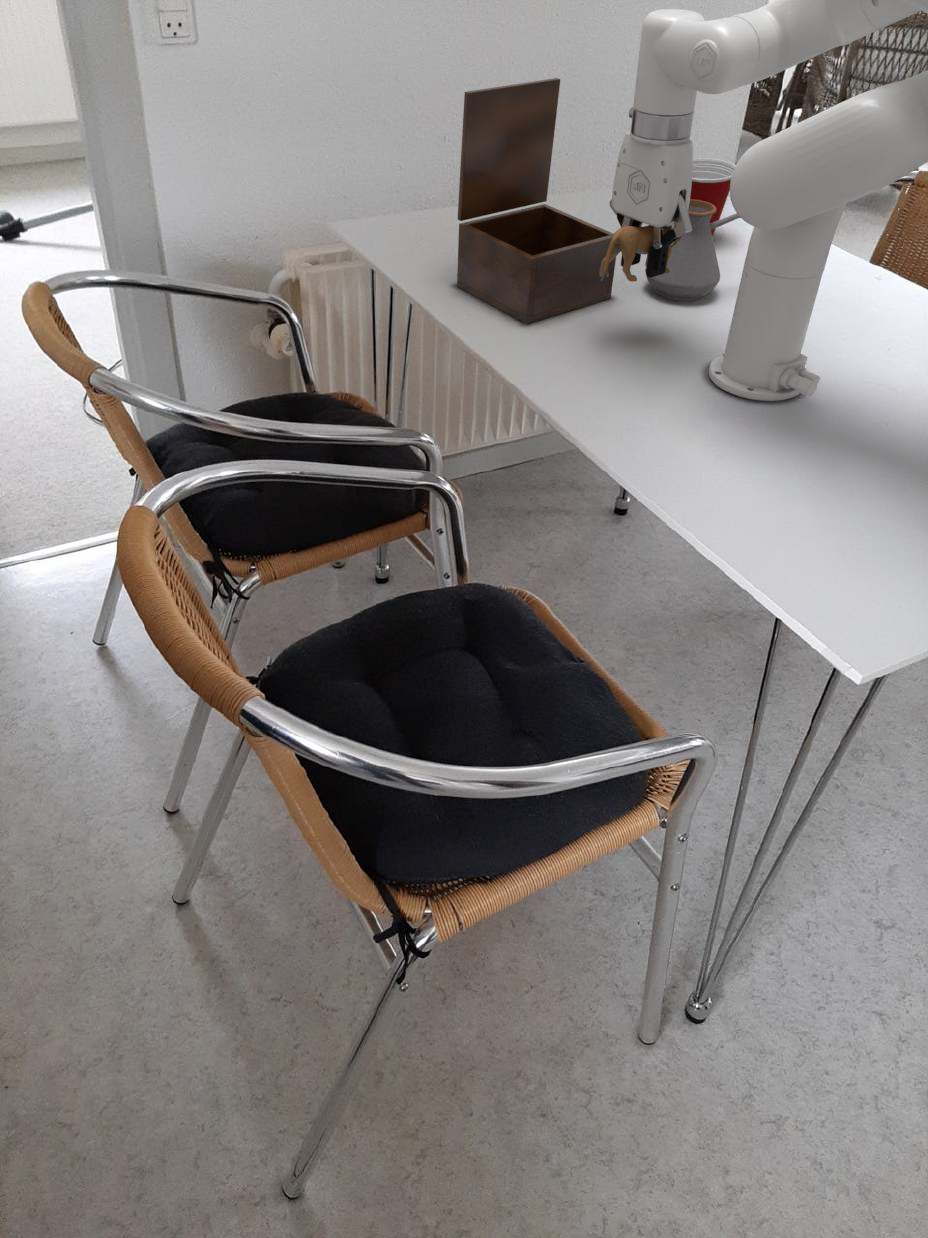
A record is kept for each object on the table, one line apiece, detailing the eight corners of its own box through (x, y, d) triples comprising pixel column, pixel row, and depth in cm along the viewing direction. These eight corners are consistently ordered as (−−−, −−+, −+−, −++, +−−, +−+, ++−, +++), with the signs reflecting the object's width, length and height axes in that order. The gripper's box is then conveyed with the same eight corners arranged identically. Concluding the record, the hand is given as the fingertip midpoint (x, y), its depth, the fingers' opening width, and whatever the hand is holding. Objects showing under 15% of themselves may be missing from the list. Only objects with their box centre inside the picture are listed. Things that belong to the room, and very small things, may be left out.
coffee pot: (653, 306, 151) (671, 204, 142) (633, 276, 160) (648, 178, 150) (788, 304, 154) (814, 203, 144) (761, 275, 163) (784, 178, 153)
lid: (560, 78, 144) (538, 70, 147) (468, 92, 136) (445, 83, 139) (546, 201, 156) (526, 191, 159) (460, 221, 148) (440, 210, 151)
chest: (610, 298, 153) (619, 235, 147) (526, 324, 145) (531, 258, 139) (539, 263, 163) (544, 203, 157) (456, 286, 154) (458, 223, 148)
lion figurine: (659, 256, 143) (669, 190, 137) (688, 267, 140) (699, 200, 134) (587, 279, 135) (594, 211, 130) (616, 291, 132) (624, 222, 127)
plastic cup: (649, 231, 176) (661, 159, 168) (700, 224, 180) (713, 153, 172) (685, 253, 169) (698, 178, 161) (737, 245, 172) (752, 172, 165)
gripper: (593, 115, 129) (580, 257, 141) (691, 144, 119) (668, 295, 131) (634, 107, 133) (618, 247, 144) (732, 134, 123) (707, 282, 134)
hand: (642, 268), depth 137 cm, fingers closed on lion figurine, 4 cm apart
